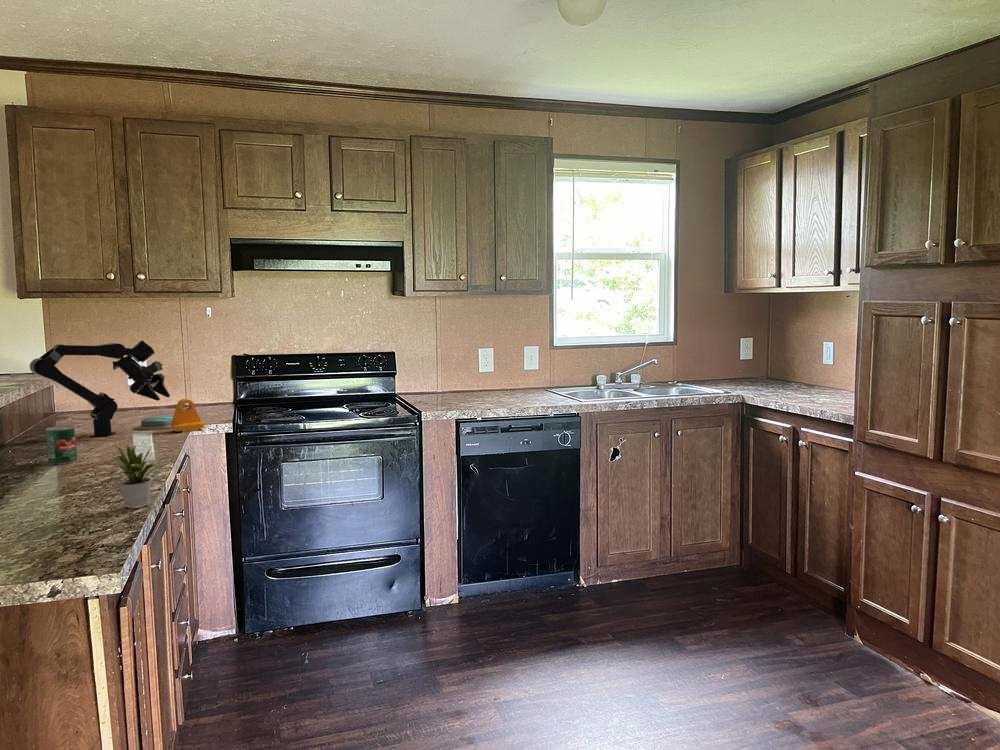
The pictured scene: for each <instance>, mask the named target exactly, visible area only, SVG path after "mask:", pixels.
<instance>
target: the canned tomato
mask: <svg viewBox="0 0 1000 750" xmlns="http://www.w3.org/2000/svg"><path fill="white" fill-rule="evenodd" d="M75 428H76V427H75V425H58V426H57V425H56V426H52V427H51V426H50V427H47V428H45V436H46V445H47V447H46V448H47V458H48V464H49V465H51V464H53V465H52V466H55V465H54V464H61V465H67V464H66V463H69V464H71V463H70V462H73V463H75V462H74V461H76V462H78V453H77V452H78V451H77V442H76V430H75Z"/></svg>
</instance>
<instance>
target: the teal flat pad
mask: <svg viewBox="0 0 1000 750" xmlns="http://www.w3.org/2000/svg"><path fill="white" fill-rule="evenodd" d="M173 416H174V415H161V416H151V417H146V418H143V419H141V420H140V425H137V426H134V430H135V429H158V430H172V429H171V422H172V419H173Z"/></svg>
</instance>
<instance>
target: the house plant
mask: <svg viewBox="0 0 1000 750" xmlns="http://www.w3.org/2000/svg"><path fill="white" fill-rule="evenodd" d="M125 445H126V455H127V457H126V455H125V453H124V451H123V450H122V448H120V447H119V446H116V445H113V444H112V445H111V446H112V447H115V448H116V449H117V450H118V452H119V454H120V455H116V454H115V453H112V452H110V451H108V453H109V454H111V455H107V454H106V456H107V457H108V456H109V457H111V458H113V459H115V457H116V458H117V459H116V461H117V462H119V461H120V462H121V463H122V464H120V465H118V466H117V468H119V469H121V470H120V472H121V473H124V474H125V476H126V477H127V479H125V477H124V476H122V478H124V480H121V481H120V482H119V486H120V490H121V494H122V498H123V501H124V505H126V506H136V505H143V504H147V503H149V504H150V495H151V489H152V488H151V487H152V479H151V478H149V477H148V475H149V474H150V473H152V471H154V470H156V469H158V467H155V468H152V467H154V466H156V464H154V463H153V464H149V465H146V464H147V463H148V462H151V460H149V459H148V458H147V457H148V455H149V453H150V451H151V448H152V446H151V447H150V448H149V449H148V451H147V452H146V454H145V456H144V458H143V454H144V452H140V453H138V454H136V449H137V448H136V446H137V445H134V446H133V447H131V446H130V445H129V444H128V443H126V444H125ZM161 448H163V446H161V447H158V448H157V449H155V450H154V451H153V452H152V453H151V454H150V456H152V455H153V454H154V453H155V452H156V451H157V450H159V449H161ZM112 455H113V456H115V457H113V456H112ZM127 458H128V459H127ZM146 458H147V460H146ZM145 465H146V466H145ZM144 466H145V467H144ZM150 468H152V469H151V470H150ZM109 470H110V472H109V473H108V475H107V477H109V476H111V475H112V474H114V473H118V472H119V470H118V469H117V470H112V469H111V468H109ZM148 470H150V471H149V472H148V473H147V471H148ZM145 474H146V475H145ZM144 475H145V477H144ZM126 506H125V507H126Z"/></svg>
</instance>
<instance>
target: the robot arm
mask: <svg viewBox="0 0 1000 750" xmlns="http://www.w3.org/2000/svg"><path fill="white" fill-rule="evenodd" d="M153 355H155V350H154V349H153V347H152V346H150V345H149V344H148V343H146V341H144V340H140V341H138V342H137V344H136V345H134V346H133V347H131V348H129V347H125V346H124V344H122V343H116V342H109V343H103V344H98V345H88V344H87V345H85V344H84V345H83V344H82V345H80V344H78V345H77V344H75V345H74V344H61V343H58V344H55V345H54V346H53V347H52V348H51V349H49V350H48V351H46V352H45V353H44V354H42V355H41V356H40V357H38V358H34V359H32V361H30V363H29V370H30V371H31V372H32V373H34V374H36V375H37V376H40V377H43V378H46V379H48V380H50V381H53V382H55V383H57V384H58V385H60V386H62V387H64V388H65V389H67V390H68V391H70V392H71V393H73V394H75V395H77V396H78V397H80V398H81V399H83V400H84V401H86V402H88V404H89V405H91V407H92V408H93V409H91V411H90V412H89V417H91V419H92V420H93V421H92V422H93V433H92V434H90V437H109V436H111V435H114V434H116V433H117V432H116V431H113V429H112V420H113V418H114V414H116V412H117V411H118V403H117V402H116V401H115V398H113V397H110V396H109V395H108V394H107V393H104V392H101V391H99V393H98V394H97V393H95V392H94V391H92V390H90V389H89V388H87V387H85V386H84V385H83V384H80V382H77V381H76V380H74V379H73V378H71V377H70V376H68V375H66V374H65V373H63V372H62V371H61V370H60V369H59V368H58V367H57V366H56V365H57V364H58V363H59V361H61V360H62V358H63V357H64V356H99V357H104V358H110V359H116V360H117V359H118V360H117V361H112V369H113V371H116V370H117V369H118V368H119V369H120V370H121V371H123V373H124V374H125V375H127V376H128V377H127V379H128V380H132V381H134V382H133V383H132V384H131V385H130V386H129V391H130V392H132V394H136V395H139V396H142V397H145V398H148V399H151V400H153V401H157V402H158V401H160V400H161V398H160V397H159V395H162V396H163V397H165V398H167V399H168V398H170V397H171V394H170V393H169V391H168V389H167V388H166V386H165V384H164V383H165V380H166V379H165V378H166V376H165V375H164V374H163V373H157V372H159V371H162V370H164V367H163V363H162V362H161V361H157V360H156V361H154V362H153V361H152V362H151V364H149V365H147V366H145V365H140V364H139V363H140V362H141V363H144V362H146V361H147V360H148V359H150V357H151V356H153ZM158 394H159V395H158Z"/></svg>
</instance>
